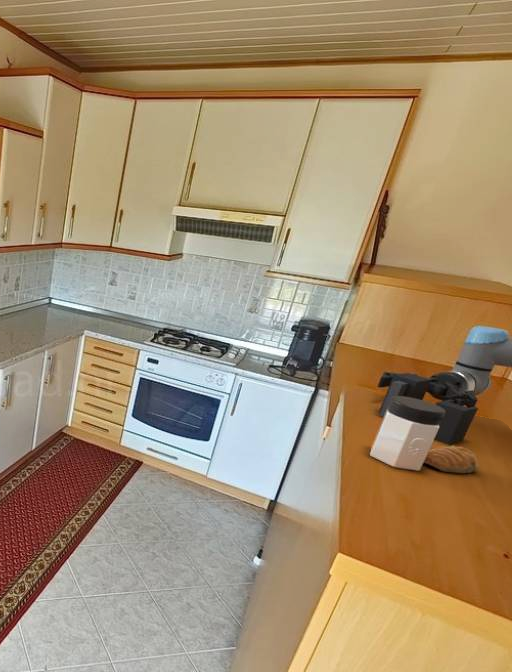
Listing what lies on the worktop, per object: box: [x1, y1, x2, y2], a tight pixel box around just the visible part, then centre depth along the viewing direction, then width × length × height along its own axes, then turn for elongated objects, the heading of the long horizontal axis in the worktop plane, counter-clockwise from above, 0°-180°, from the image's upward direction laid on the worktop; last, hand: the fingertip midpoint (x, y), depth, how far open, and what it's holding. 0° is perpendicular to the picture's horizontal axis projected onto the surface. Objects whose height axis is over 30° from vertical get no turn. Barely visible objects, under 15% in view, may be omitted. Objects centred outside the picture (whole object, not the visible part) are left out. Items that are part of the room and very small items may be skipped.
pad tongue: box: [378, 372, 431, 418], centre depth 120 cm, size 10×5×10 cm, turn 117°
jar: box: [369, 396, 445, 472], centre depth 94 cm, size 9×8×12 cm
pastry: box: [423, 445, 479, 474], centre depth 95 cm, size 9×7×4 cm
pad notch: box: [434, 399, 479, 445], centre depth 109 cm, size 7×5×8 cm
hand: (410, 391), depth 121 cm, fingers open, 13 cm apart
